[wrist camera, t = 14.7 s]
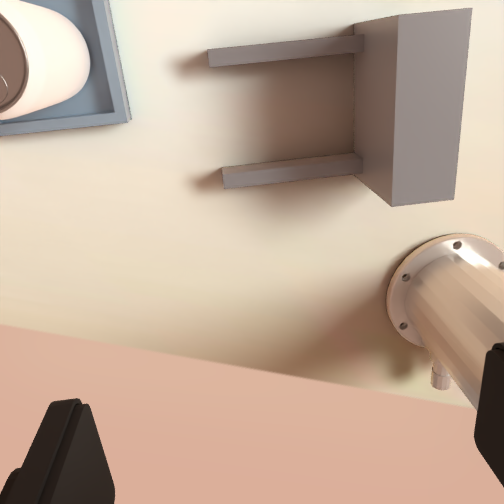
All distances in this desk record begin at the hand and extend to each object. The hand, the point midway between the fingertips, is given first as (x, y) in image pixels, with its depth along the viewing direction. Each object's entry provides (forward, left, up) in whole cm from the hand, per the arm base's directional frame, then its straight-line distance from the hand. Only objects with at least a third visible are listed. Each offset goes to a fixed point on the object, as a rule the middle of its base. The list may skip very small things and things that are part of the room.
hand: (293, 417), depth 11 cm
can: (+9, +13, -30) cm, 34 cm away
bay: (+3, -7, -30) cm, 31 cm away
